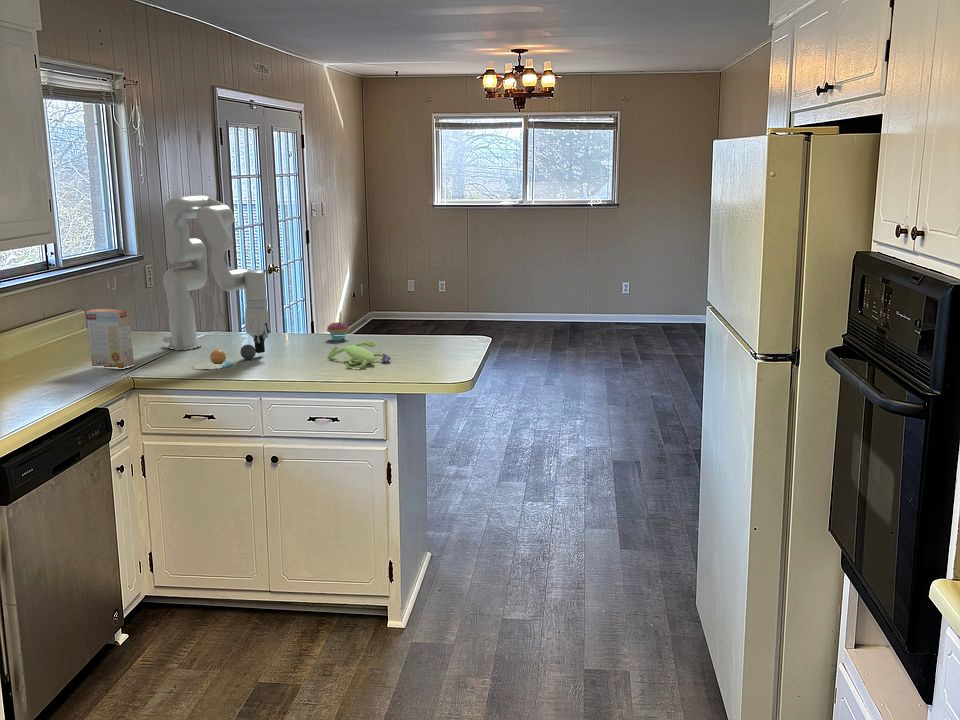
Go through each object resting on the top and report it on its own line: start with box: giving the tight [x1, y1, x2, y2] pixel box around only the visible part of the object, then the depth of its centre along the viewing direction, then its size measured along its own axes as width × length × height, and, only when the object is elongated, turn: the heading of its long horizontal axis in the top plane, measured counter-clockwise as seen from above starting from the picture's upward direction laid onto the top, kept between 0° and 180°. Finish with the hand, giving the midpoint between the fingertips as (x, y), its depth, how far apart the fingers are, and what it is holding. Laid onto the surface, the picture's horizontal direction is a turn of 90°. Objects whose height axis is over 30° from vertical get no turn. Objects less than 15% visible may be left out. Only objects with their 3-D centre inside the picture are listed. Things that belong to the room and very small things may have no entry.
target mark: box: [222, 360, 234, 369], centre depth 317 cm, size 14×14×1 cm
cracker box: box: [85, 308, 135, 368], centre depth 314 cm, size 14×6×21 cm, turn 71°
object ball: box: [209, 348, 227, 364], centre depth 318 cm, size 6×6×6 cm
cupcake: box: [326, 311, 349, 342], centre depth 359 cm, size 9×8×12 cm
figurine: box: [326, 341, 392, 369], centre depth 321 cm, size 18×27×6 cm
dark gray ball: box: [239, 344, 256, 360], centre depth 326 cm, size 6×6×6 cm
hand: (260, 352), depth 331 cm, fingers closed
